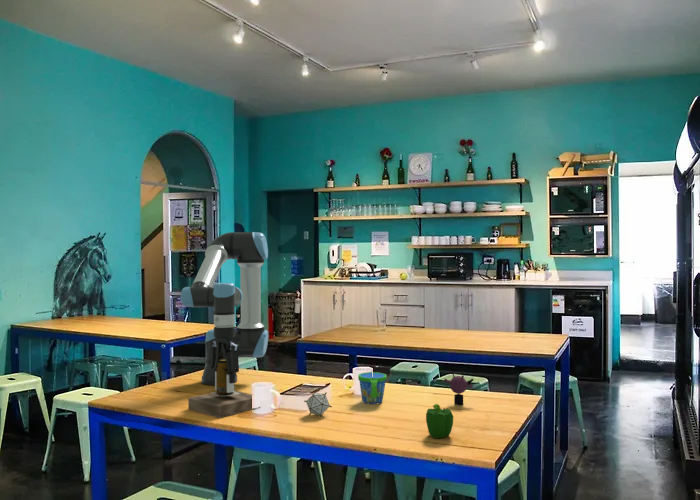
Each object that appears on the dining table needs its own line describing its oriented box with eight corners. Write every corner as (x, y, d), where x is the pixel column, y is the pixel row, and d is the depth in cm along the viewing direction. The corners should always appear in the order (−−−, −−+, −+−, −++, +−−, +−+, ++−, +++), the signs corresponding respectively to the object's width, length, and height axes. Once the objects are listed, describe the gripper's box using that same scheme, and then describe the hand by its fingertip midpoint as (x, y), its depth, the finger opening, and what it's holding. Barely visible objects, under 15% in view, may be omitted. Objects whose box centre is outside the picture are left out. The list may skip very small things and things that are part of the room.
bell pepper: (441, 430, 184) (441, 398, 185) (458, 437, 177) (458, 404, 177) (419, 434, 180) (419, 401, 181) (435, 442, 173) (435, 407, 173)
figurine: (474, 404, 216) (474, 371, 216) (460, 408, 211) (460, 374, 211) (457, 400, 222) (457, 368, 222) (443, 403, 217) (442, 371, 217)
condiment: (229, 390, 217) (229, 357, 217) (240, 394, 211) (240, 360, 211) (211, 393, 213) (210, 359, 213) (222, 397, 206) (222, 362, 206)
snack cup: (386, 407, 212) (386, 379, 212) (357, 407, 213) (357, 379, 213) (386, 397, 228) (386, 370, 228) (359, 397, 228) (359, 370, 228)
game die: (323, 425, 203) (341, 402, 203) (309, 422, 196) (327, 398, 196) (309, 408, 209) (326, 386, 208) (294, 404, 202) (312, 381, 202)
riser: (229, 399, 225) (229, 389, 225) (260, 407, 213) (260, 396, 213) (188, 409, 211) (188, 397, 211) (219, 418, 199) (219, 406, 199)
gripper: (199, 325, 216) (200, 388, 216) (232, 329, 203) (232, 396, 203) (216, 323, 221) (217, 385, 221) (249, 327, 209) (249, 392, 209)
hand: (224, 390), depth 212 cm, fingers closed on condiment, 6 cm apart
